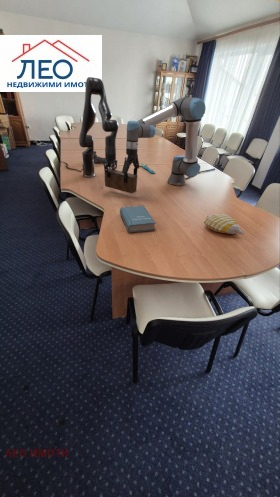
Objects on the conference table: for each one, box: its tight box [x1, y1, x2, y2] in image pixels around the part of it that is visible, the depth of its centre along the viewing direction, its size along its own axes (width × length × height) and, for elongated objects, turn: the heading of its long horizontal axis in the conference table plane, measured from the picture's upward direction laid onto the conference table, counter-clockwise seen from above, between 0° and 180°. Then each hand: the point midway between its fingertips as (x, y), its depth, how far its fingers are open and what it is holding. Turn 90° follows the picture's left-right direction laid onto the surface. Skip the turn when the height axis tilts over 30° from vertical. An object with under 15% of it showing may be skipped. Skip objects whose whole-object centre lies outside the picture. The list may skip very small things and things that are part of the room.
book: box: [119, 205, 156, 233], centre depth 136 cm, size 23×16×5 cm
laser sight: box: [93, 150, 107, 165], centre depth 230 cm, size 10×22×10 cm, turn 78°
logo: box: [139, 162, 156, 175], centre depth 227 cm, size 34×10×1 cm, turn 16°
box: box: [104, 168, 138, 195], centre depth 162 cm, size 24×6×12 cm, turn 62°
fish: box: [203, 213, 245, 235], centre depth 133 cm, size 25×8×20 cm
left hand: (110, 176), depth 164 cm, fingers closed on box, 6 cm apart
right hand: (130, 180), depth 158 cm, fingers open, 13 cm apart
